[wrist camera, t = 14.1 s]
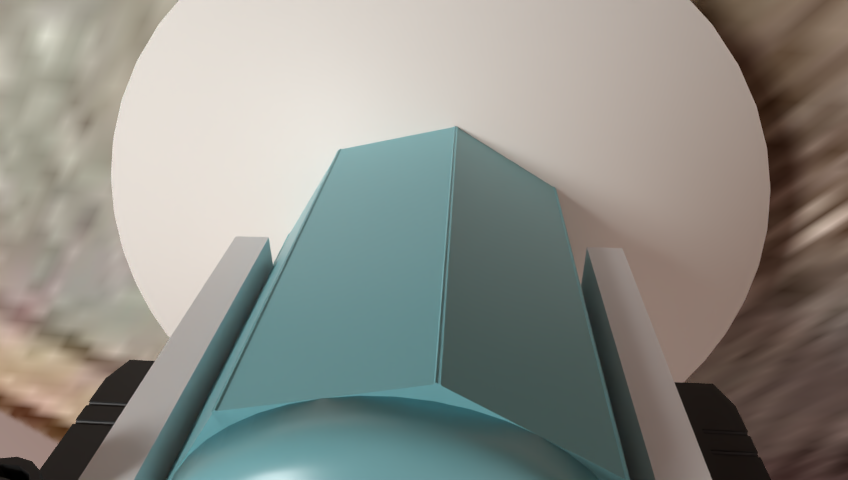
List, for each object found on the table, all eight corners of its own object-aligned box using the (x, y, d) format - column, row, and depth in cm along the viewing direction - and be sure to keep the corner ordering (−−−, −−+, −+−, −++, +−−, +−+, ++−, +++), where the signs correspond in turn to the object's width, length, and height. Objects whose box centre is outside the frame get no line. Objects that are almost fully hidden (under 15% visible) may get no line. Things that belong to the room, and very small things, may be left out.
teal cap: (466, 393, 18) (459, 791, 10) (257, 286, 16) (64, 657, 9) (621, 228, 15) (782, 622, 7) (380, 77, 13) (250, 368, 6)
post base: (24, 113, 16) (-297, 287, 10) (589, -295, 11) (763, -540, 5) (357, 473, 23) (307, 728, 16) (808, 315, 18) (1013, 589, 11)
